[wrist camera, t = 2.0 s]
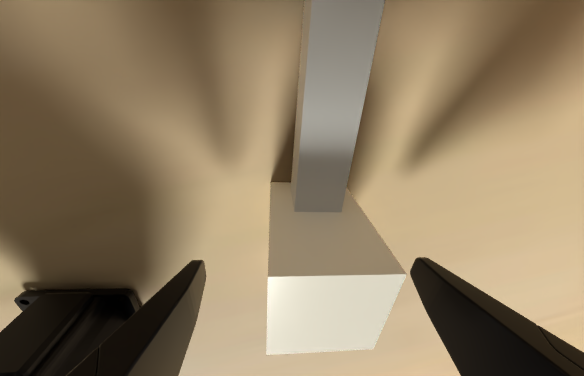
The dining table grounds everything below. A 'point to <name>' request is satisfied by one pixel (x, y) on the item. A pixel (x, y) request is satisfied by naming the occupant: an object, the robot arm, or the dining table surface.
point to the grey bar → (328, 198)
